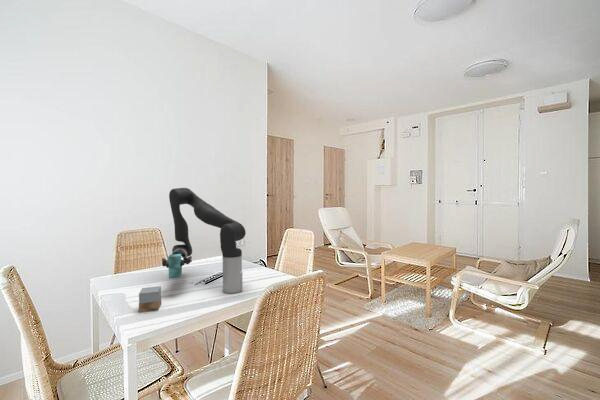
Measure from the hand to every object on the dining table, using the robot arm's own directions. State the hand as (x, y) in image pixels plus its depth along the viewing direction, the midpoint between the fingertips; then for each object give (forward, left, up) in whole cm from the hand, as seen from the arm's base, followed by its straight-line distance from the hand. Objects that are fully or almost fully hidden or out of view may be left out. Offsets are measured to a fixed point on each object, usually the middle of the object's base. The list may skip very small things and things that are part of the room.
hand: (174, 264), depth 126 cm
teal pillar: (0, -3, -6) cm, 7 cm away
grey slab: (+8, +9, -11) cm, 17 cm away
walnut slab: (+8, +9, -15) cm, 20 cm away
